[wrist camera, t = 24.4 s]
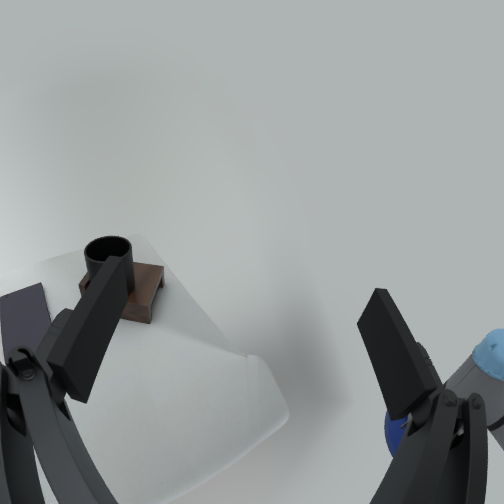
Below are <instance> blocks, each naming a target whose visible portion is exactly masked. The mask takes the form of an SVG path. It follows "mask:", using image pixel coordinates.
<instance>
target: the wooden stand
mask: <svg viewBox="0 0 504 504" xmlns="http://www.w3.org/2000/svg"><path fill="white" fill-rule="evenodd" d="M133 268H134V278H135V287H134V289H133V291H132V292H131V294H129V295H128V299H129V300H128V302H127V304H126V306H125V308H124V311H123V313H122V315H121V317H120V318H122V319H127V320H132V321H137V322H143V323H148V324H150V323H151V320H152V316H151V307H150V306H151V303H152V301H153V298H154V296H155V293H156V290H157V288H158V287H161V288H163V286H164V266H157V265H151V264H144V263H137V262H133ZM89 285H90V280H89V275H88V272H87V273H86V275H85V276H84V277H83V279H82V280H81V282H80V283H79V289H80V292H81V296H83V294H84V292H85V291H86V289H87V288H88V286H89Z"/></svg>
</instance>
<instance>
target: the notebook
mask: <svg viewBox="0 0 504 504" xmlns="http://www.w3.org/2000/svg"><path fill="white" fill-rule="evenodd" d="M0 321H1V334H2V344H3V352H4V359H5V364H6V358H7V356H8V354H9V352H10V351H11V350H12V349H13V348H15V347H17V346H27V347H29V348H30V349H31V350H32V352H33V353H34V354H35V352H36V350H37V348H38V346H39V345H40V343H41V341H42V339H43V338H44V336H45V334H46V332H48V329H49V327H50V326H51V325H52V323H51V320H50V316H49V312H48V308H47V304H46V300H45V295H44V291H43V286H42V283H38V284H35V285H32V286H29V287H26V288H24V289H21V290H18V291H15V292H12V293H10V294H6V295H4V296H2V297H0Z"/></svg>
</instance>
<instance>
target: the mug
mask: <svg viewBox="0 0 504 504" xmlns="http://www.w3.org/2000/svg"><path fill="white" fill-rule="evenodd" d="M84 255H85V261H86V266H87V271H88V275H89V280H90V283H91V282H92V280H93V279H94V277H95V276H96V274H97V273H98V271H99V270H100V268H101V267H102V265H103V264H104V263H105V261H106V260H107V258H108V257H109V255H110V256H116V257H123V263H124V271H125V279H126V286H127V292H128V295H129V294H131V292H132V291H133V289H134V287H135V278H134V268H133V257H132V246H131V243H130V242H129V241H128V240H127V239H125V238H123V237H119V236H105V237H101V238H97V239H95V240H93V241H91V242H90V243H89V244H88V245H87V246H86V247H85V250H84Z"/></svg>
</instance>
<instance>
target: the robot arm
mask: <svg viewBox="0 0 504 504" xmlns="http://www.w3.org/2000/svg"><path fill="white" fill-rule="evenodd" d="M128 300H129V299H128V292H127V286H126V279H125V271H124V263H123V257H116V256H110V255H109V257H108V258H107V260H106V261H105V263H104V264H103V265H102V267H101V268H100V270H99V271H98V273H97V274H96V276H95V277H94V279H93V280H92V282H91V283H90V285H89V286H88V288H87V289H86V291H85V292H84V294H83V296H82V297H81V299H80V300H79V302H78V304H77V305H76V307H75V309H74V310H70V309H67V308H65V309H64V310H62V311H61V312H60V313H59V314H58V315H57V316H56V317H55V319H54V321H53V322H52V325H51V326H50V327H49V329H48V332H46V334H45V336H44V338H43V339H42V341H41V343H40V345H39V346H38V348H37V350H36V352H35V354H34V353H33V352H32V350H31V349H30V348H29V347H27V346H17V347H15V348H13V349H12V350H11V351H10V352H9V354H8V356H7V358H6V365H7V366H3V365H2V363H1V362H0V504H45V501H44V497H43V493H42V490H41V485H40V481H39V477H38V472H37V467H36V461H35V455H34V449H35V451H36V454H37V457H38V459H39V462H40V464H41V467H42V469H43V472H44V474H45V476H46V478H47V481H48V483H49V485H50V487H51V489H52V491H53V493H54V495H55V497H56V499H57V501H58V503H59V504H118V503H117V501H116V500H115V498H114V497H113V495H112V494H111V492H110V490H109V489H108V487H107V486H106V484H105V482H104V481H103V479H102V477H101V476H100V474H99V472H98V470H97V469H96V467H95V465H94V463H93V461H92V459H91V457H90V455H89V453H88V451H87V449H86V447H85V445H84V443H83V441H82V439H81V437H80V435H79V432H78V430H77V428H76V425H75V423H74V421H73V418H72V416H71V413H70V411H69V408H68V406H67V403H66V401H65V399H64V397H65V395H66V392H67V393H68V395H69V396H70V397H71V399H74V400H77V401H80V402H83V403H86V404H87V401H88V398H89V395H90V392H91V389H92V387H93V384H94V381H95V378H96V376H97V373H98V370H99V368H100V365H101V363H102V360H103V357H104V355H105V352H106V350H107V348H108V345H109V343H110V340H111V338H112V336H113V333H114V331H115V329H116V326H117V324H118V322H119V319H120V317H121V315H122V313H123V311H124V308H125V306H126V304H127V302H128ZM357 325H358V329H359V331H360V333H361V336H362V339H363V341H364V344H365V347H366V349H367V352H368V355H369V357H370V360H371V363H372V366H373V368H374V371H375V374H376V377H377V380H378V383H379V386H380V388H381V391H382V394H383V398H384V401H385V404H386V407H387V410H388V413H389V416H390V420H391V421H396V420H400V419H404V418H405V417H406V419H405V423H404V424H403V425H402V426H401V427H400V429H402V428H404V427H406V429H404V434H403V437H402V439H401V441H400V444H399V446H398V449H397V451H396V453H395V455H394V458H393V460H392V462H391V464H390V467H389V468H388V470H387V472H386V474H385V477H384V478H383V481H382V482H381V484H380V486H379V488H378V490H377V491H376V494H375V495H374V497H373V498H372V500H371V502H370V504H484V503H485V494H486V485H487V468H488V466H487V465H488V437H487V428H488V430H489V431H490V432H491V434H492V435H493V436H494V438H495V439H496V440H497V442H498V443H499V445H500V446H501V447H502V449H503V450H504V329H495V330H493V331H491V332H490V333H488V335H487V336H486V337H485V338H484V339H483V340H482V342H481V343H480V344H479V345H477V346H476V347H475V348H474V350H473V351H472V354H471V355H470V356H469V358H468V359H467V360H466V361H465V362H464V363H463V364H462V366H460V367H459V369H458V370H457V371H456V372H455V373H454V374H453V375H452V376H451V377H450V378H449V379H448V380H447V381H446V382H445V383H444V384H442V382H441V380H440V378H439V376H438V374H437V372H436V369H435V367H434V366H433V365H432V361H431V359H429V356H428V353H427V351H426V349H425V348H424V347H423V346H422V345H421V344H420V343H419V342H416V341H415V339H414V337H413V335H412V334H411V332H410V330H409V328H408V326H407V324H406V322H405V321H404V319H403V317H402V315H401V313H400V311H399V310H398V308H397V306H396V304H395V303H394V301H393V299H392V298H391V296H390V294H389V292H388V291H387V289H380V288H375V290H374V292H373V294H372V296H371V298H370V300H369V302H368V304H367V306H366V308H365V310H364V312H363V313H362V316H361V317H360V319H359V321H358V322H357ZM33 446H34V449H33Z"/></svg>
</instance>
